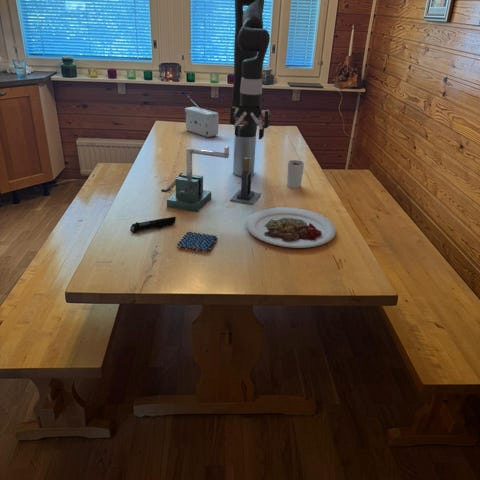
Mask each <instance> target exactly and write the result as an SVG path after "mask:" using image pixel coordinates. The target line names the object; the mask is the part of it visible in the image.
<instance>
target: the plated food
mask: <svg viewBox="0 0 480 480" xmlns="http://www.w3.org/2000/svg"><path fill="white" fill-rule="evenodd" d="M245 225H246V228H247V231H248V232H249V233H250V234H251V235H252V236H254V237H255V238H256V239H258V240H260V241H262V242H265V243H267V244H270V245H274V246H279V247H283V248H293V249H295V248H297V249H302V248H303V249H306V248H312V247H318V246H322V245H324V244H327V243H329V242H330V241H332V239H334V237H335V236H336V233H337V230H336V226H335V225H334V223H333V222H332V221H331V220H330V219H328V218H327V217H326V216H324V215H323V214H322V215H321V214H320V213H317V212H315V211H311V210H306V209H303V208H297V207H288V206H287V207H285V206H284V207H279V206H278V207H270V208H265V209H264V208H263V209H261V210H258V211H255V212H254V213H252V214H251V215H249V216H248V217H247V219H246V221H245Z"/></svg>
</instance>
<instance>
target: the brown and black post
mask: <svg viewBox="0 0 480 480" xmlns="http://www.w3.org/2000/svg"><path fill="white" fill-rule="evenodd" d="M251 163H252V157H245V158H244V159H243V173H242V176H241V182H240V183H241V184H240V186H241V187H240V188H241V189H240V190H241V192H240V193H239V194H238V195H237V199H242V200H249V201H250V199H251V198H252V197H253V195H254V192H255V190H252V176H253V175H252V168H251Z"/></svg>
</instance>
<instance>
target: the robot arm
mask: <svg viewBox="0 0 480 480" xmlns="http://www.w3.org/2000/svg"><path fill="white" fill-rule="evenodd" d="M264 6H265V0H234V20H235V22H234V24H235V25H234V44H233V45H234V46H233V48H234V49H233V86H232V87H233V88H232V96H231V108H230V115H229V125H233V126H234V142H233V145H234V146H233V169H232V171H233V172H232V173H233V174H234V175H235V176H239V177H242V173H243V159H244V158H245V157H252V163H251V168H252V176H253V175H254V174H255V162H256V160H255V159H256V158H255V157H256V144H257V142H256V141H257V129H258V128H259V130H258V140H262V139H263V138H264V136H265V129H268V128H269V127H270V126H271V125H270V124H271V121H270V119H271V118H270V117H271V115H270V114H271V112H270V109H266V110H265V109H263V108H262V95H263V70H264V69H263V68H264V61H265V58H266V54H267V51H268V48H269V45H270V41H271V38H270V36H271V35H270V33H269V31H268V30H267V29H266V28H264V19H263V12H264ZM244 7H246V8H245V9H244ZM262 109H263V110H262ZM261 115H262V116H263V117H264V122H263V120H262V119H261V117H260V116H261ZM236 119H237V120H236ZM243 121H245V122H247V123H245V124H242V122H243ZM240 124H242V125H240Z"/></svg>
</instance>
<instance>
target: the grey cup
mask: <svg viewBox="0 0 480 480" xmlns="http://www.w3.org/2000/svg"><path fill="white" fill-rule="evenodd" d="M304 166H305V162H304V161H302V160H299V159H292V160H288V161H287V176H286V177H287V178H286V179H287V181H286V183H287V184H286V185H287V187H288V188H292V189H299V188H301V187H300V186H301V185H302V181H303V180H302V179H303V175H304V174H303V173H304V168H305V167H304ZM298 187H299V188H298Z"/></svg>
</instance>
